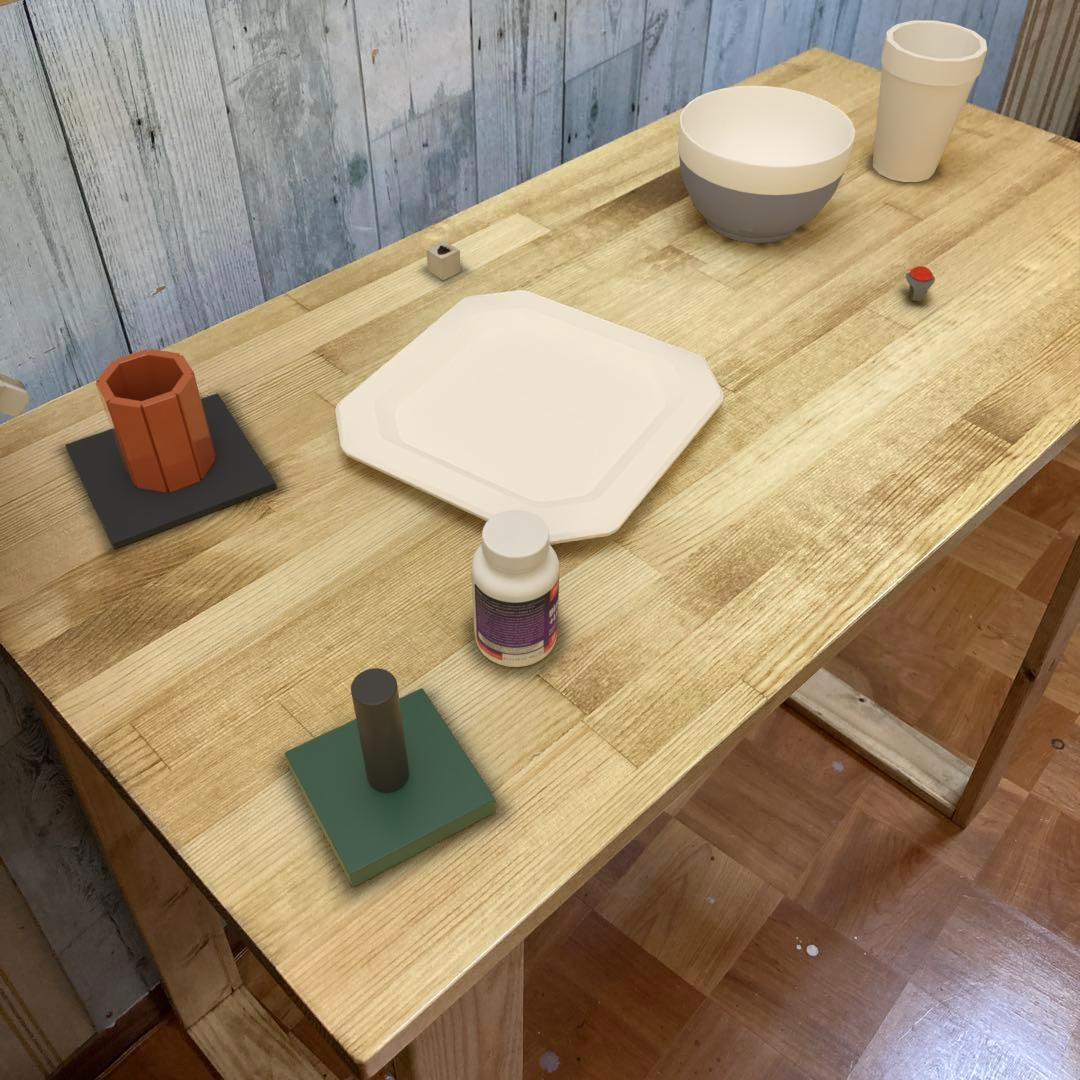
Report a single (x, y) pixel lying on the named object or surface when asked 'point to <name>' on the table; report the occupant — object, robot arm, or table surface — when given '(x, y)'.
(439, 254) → the cube with dark pebbles
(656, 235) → the table surface
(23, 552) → the table surface
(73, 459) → the mat
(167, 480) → the orange hollow octagonal tube
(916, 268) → the ring
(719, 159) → the bowl
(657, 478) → the plate
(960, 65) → the foam cup
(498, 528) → the pill bottle
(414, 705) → the post stand
